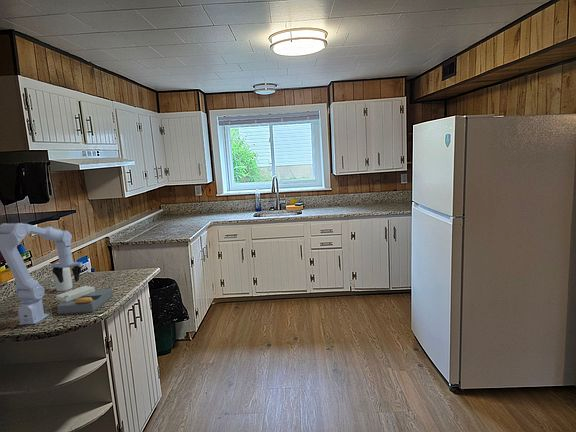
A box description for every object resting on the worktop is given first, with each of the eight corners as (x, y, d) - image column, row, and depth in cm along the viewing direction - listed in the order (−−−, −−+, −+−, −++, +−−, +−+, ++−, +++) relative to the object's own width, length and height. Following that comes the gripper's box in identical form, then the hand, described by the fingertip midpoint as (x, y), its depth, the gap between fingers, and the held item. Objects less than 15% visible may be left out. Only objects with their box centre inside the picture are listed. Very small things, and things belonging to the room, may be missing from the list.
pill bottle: (64, 292, 207) (59, 265, 205) (52, 291, 210) (48, 264, 208) (76, 286, 215) (72, 260, 212) (65, 286, 217) (61, 260, 215)
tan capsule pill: (91, 303, 176) (90, 298, 176) (75, 304, 177) (74, 299, 176) (93, 301, 179) (93, 296, 178) (78, 302, 179) (77, 297, 179)
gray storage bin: (93, 312, 176) (92, 303, 176) (58, 314, 177) (57, 306, 176) (113, 295, 196) (112, 288, 195) (81, 297, 196) (80, 290, 196)
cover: (95, 291, 192) (94, 286, 192) (66, 302, 180) (65, 297, 179) (85, 289, 196) (84, 284, 196) (56, 299, 184) (55, 294, 183)
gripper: (84, 251, 193) (88, 278, 195) (54, 253, 193) (59, 280, 195) (76, 255, 186) (80, 282, 188) (46, 257, 186) (50, 284, 188)
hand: (69, 281), depth 191 cm, fingers open, 7 cm apart
